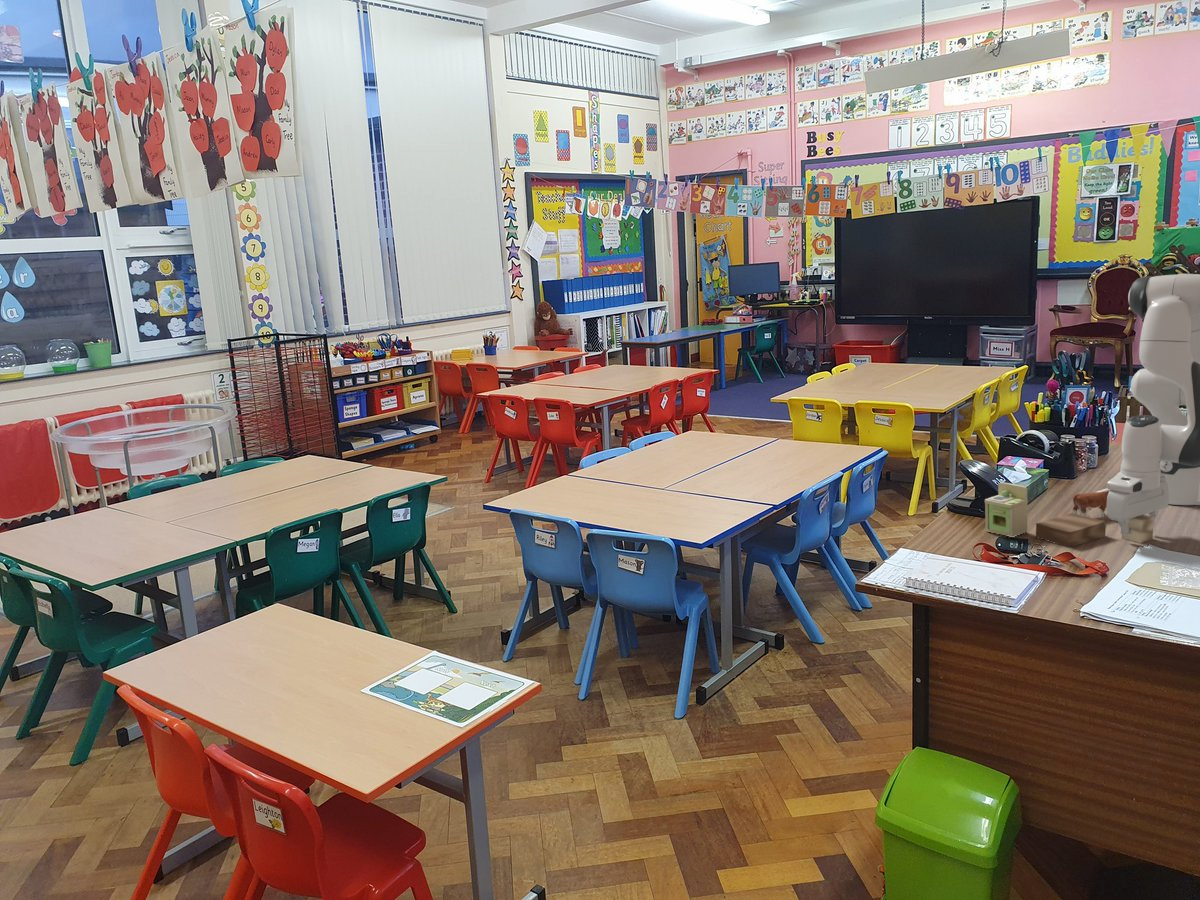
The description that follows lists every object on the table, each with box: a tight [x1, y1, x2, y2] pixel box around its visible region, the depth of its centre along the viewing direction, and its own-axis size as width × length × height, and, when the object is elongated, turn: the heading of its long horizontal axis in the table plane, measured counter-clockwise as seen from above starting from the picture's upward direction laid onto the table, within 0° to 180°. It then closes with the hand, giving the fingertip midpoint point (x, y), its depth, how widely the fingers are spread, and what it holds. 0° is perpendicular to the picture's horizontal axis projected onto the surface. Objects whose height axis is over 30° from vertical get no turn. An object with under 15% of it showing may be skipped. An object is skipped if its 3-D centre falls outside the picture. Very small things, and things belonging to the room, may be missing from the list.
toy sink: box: [984, 481, 1028, 536], centre depth 244 cm, size 8×7×13 cm
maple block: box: [1121, 514, 1155, 544], centre depth 232 cm, size 5×5×6 cm
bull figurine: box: [1072, 488, 1110, 518], centre depth 251 cm, size 4×13×8 cm, turn 89°
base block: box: [1035, 513, 1107, 548], centre depth 237 cm, size 14×10×4 cm
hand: (1137, 530), depth 232 cm, fingers open, 8 cm apart
